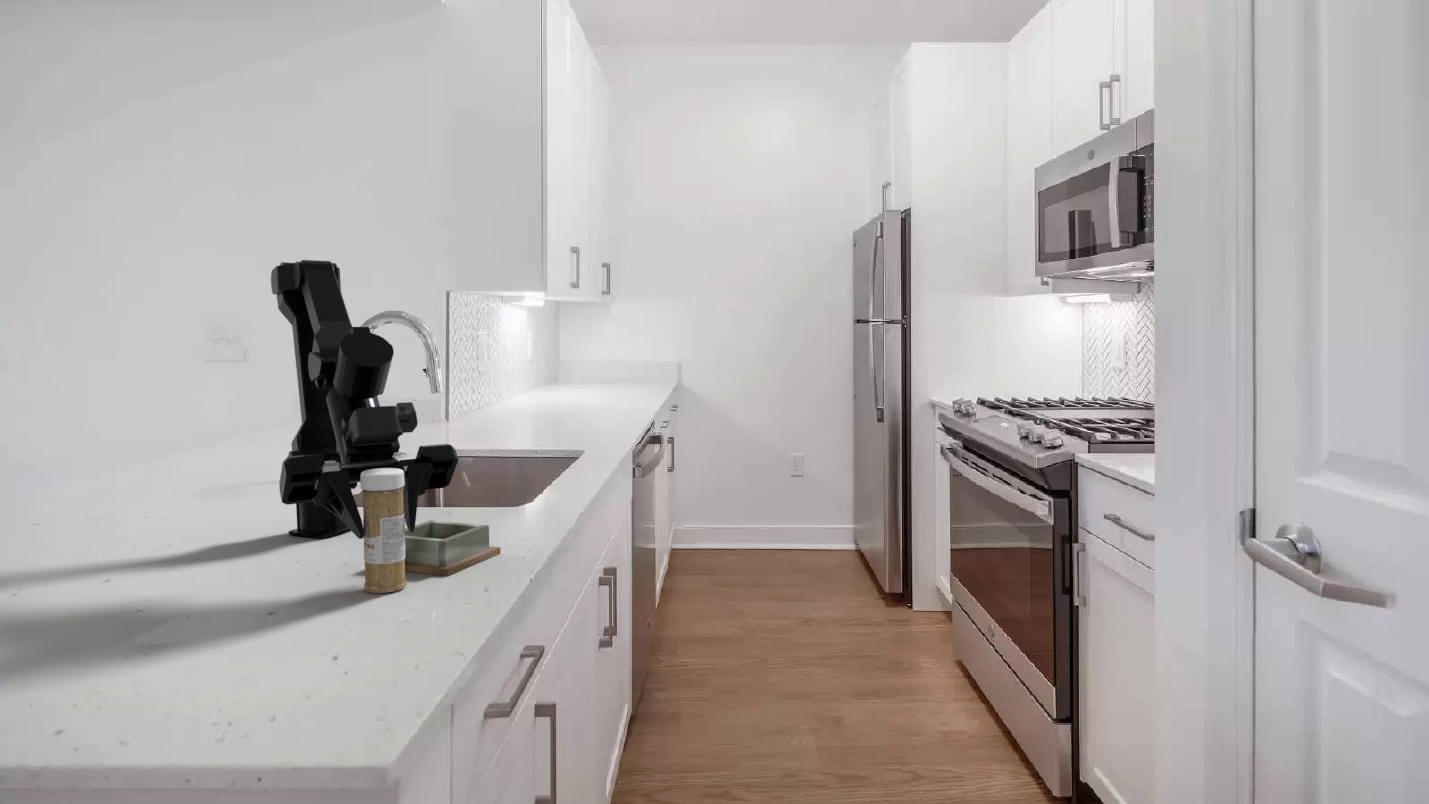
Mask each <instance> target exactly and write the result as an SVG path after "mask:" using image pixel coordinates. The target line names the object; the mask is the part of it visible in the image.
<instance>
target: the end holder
mask: <svg viewBox="0 0 1429 804" xmlns="http://www.w3.org/2000/svg"><path fill="white" fill-rule="evenodd" d="M500 554H501V547H500V546H493V545H490V525H488V524H487V525H486V524H474V523H466V522H465V523H463V522H453V521H452V522H451V521H442V520H440V521H439V520H428V521H424V522H422V523H419V524H415V528H414V531H413V532H409V530H408V527H407V528H405V572H409V573H418V574H429V575H436V576H444V577H448V576H452V575H453V574H456V573H458V572H461V571H463V570H466V569H467V568H470V567H472V566H474V565H477V564H479V563H481V562H484V561H487V560H488V559H491V558H493V557H496V556H498V555H500Z"/></svg>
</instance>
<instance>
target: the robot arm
mask: <svg viewBox="0 0 1429 804" xmlns="http://www.w3.org/2000/svg"><path fill="white" fill-rule="evenodd" d="M270 284H271V285H270V287H271V293H272V294H273V295H276V301H277V307H278V308H277V309H278V310H279V312H281V314H282V316H284V318H285V319H286V320H287V321H288V322H289V324H290V325H291V326H292V336H293V348H294V349H293V350H294V358H295V368H296V378H297V387H298V396H299V397H298V398H299V406H300V417H301V418H300V419H301V425H300V426H299V428H298V430H297V432H296V433H295V436H294V438H293V439H292V441H291V451H289V452H288V455H287V457H285V459H284V460H283V461H282V464H281V471H280V476H279V495H280V499H281V503H283V504H285V505H296V507H295V509H296V528H295V529H291V530H288V535H290V536H300V537H310V538H319V539H324V538H328V537H332V536H335V535H338V534H342V533H345V532H348V531H351V532H352V534H354V536H356V537H357V538H358V540H361V539H363V540H364V529H363V519H362V518H361V517H362V516H361V515H360V512H359V509H358V508H359V507H358V506H357V503H356V500H355V498H354V494H353V491H352V490H355V489H356V487H358V483H360V475H361V473H362V472H363V471H366V470H370V469H378V468H397V469H401V470H403V471H404V484H405V485H404V486H403V488H404V490H403V506H404V520H405V525H406V527H407V528H408V530H409V532H413V531H414V528H415V525H416V520H417V511H418V501H419V497H420V496H423V495H424V494H425V493H426V491H428V490H436V489H437V490H438V489H443V488H446V487H448V486H450V484H451V481H452V478H453V476H454V473H455V470H456V467H457V465H458V463H459V456H458V454H457V450H456V448H455V447H454V446H452V445H451V444H449V443H442V444H429V445H419V447H418V450H417V453H416V456H415V458H409V459H399V458H396V457H395V454H396V453H397V454H398V453H399V452H400V448H401V443H400V441H399V437H400V436H402V435H404V434H408V433H413V432H415V429H416V428H417V427H418V422H419V421H418V417H417V411H416V408H415V405H414V404H413V402H412V401H411V402H410V401H409V402H397V403H396V404H395V405H383V406H381V405H380V401H379V398H378V396H381V395H383V394H384V392H385V388H386V385H387V381H388V377H389V374H390V373H389V372H390V369H391V366H392V361H393V357H394V354H395V352H394V348H393V344H391V343H390V342H389V341H388V340H387V339H385V338H384V337H383V336H380V335H378V334H376V333H372V332H371V329H370V326H353V325H352V323H351V320H350V315H349V312H348V310H347V307H346V304H345V301H344V298H343V294H342V285H341V284H342V283H341V269H340V267H338V265H337V263H335V262H334V263H333V262H331V261H330V260H315V259H313V260H310V259H302V260H300V261H295V262H288V261H287V262H285V261H284V262H283V261H281V262H280V264H279V265H276V266H275V267H274V268H273V269H271V275H270Z"/></svg>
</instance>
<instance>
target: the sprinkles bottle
mask: <svg viewBox="0 0 1429 804" xmlns="http://www.w3.org/2000/svg"><path fill="white" fill-rule="evenodd" d="M359 483H360V488H361V492H362V493H361V494H362V506H363V507H362V509H363V512H362V513H363V519H362V524H363V529H364V537H363V560H364V580H365V581H364V584H363V588H364V590H365V592H368V593H372V594H387V593H393V592H397V591H401V590H402V589H404V588H405V587H406V586H407V580H406V571H405V529H406V528H405V527H406V526H405V525H406V522H405V518H404V506H403V490H404V488H403V486H404V485H405V484H404V471H403V470H401V469H397V468H378V469H370V470H366V471H363V472H362V473H361V475H360V482H359Z"/></svg>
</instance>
